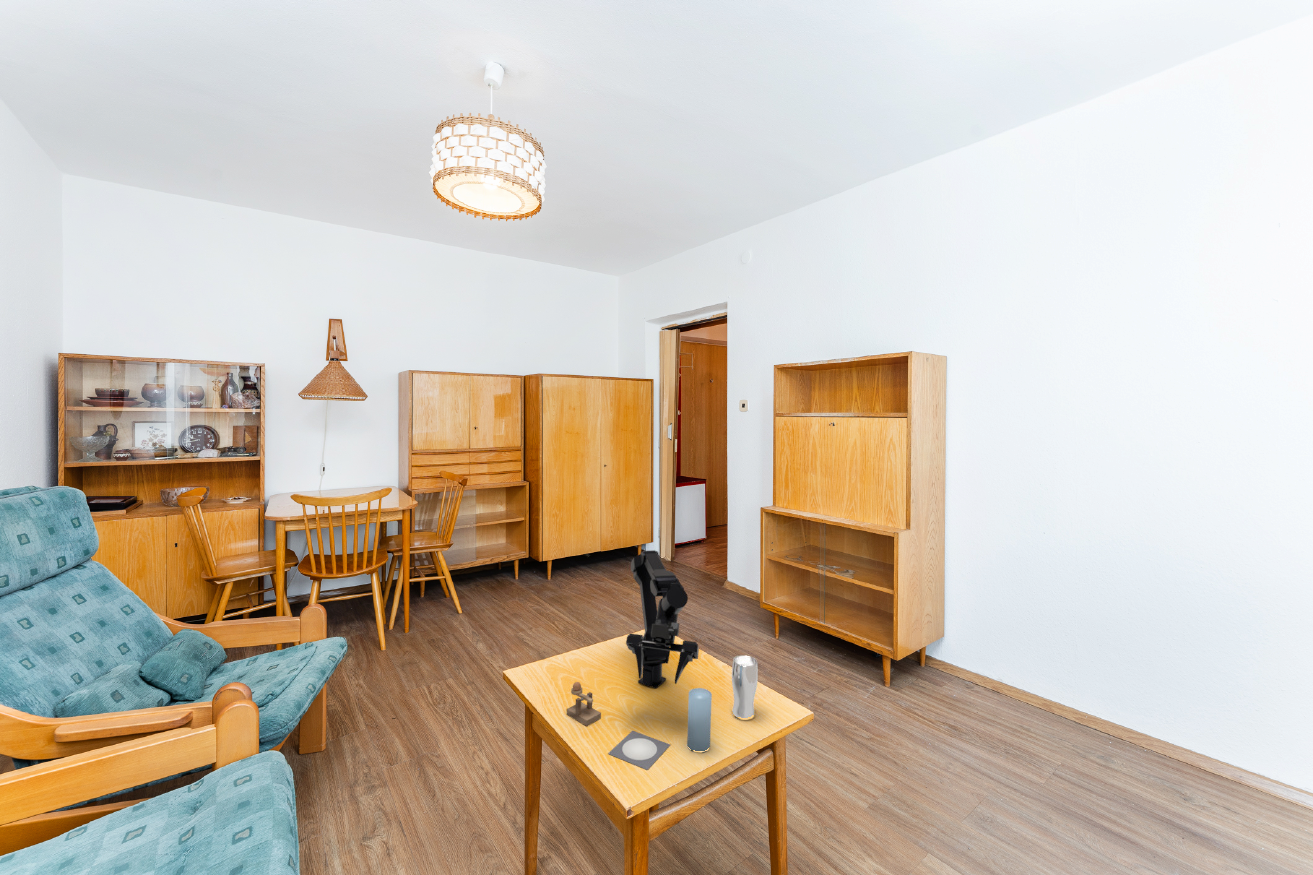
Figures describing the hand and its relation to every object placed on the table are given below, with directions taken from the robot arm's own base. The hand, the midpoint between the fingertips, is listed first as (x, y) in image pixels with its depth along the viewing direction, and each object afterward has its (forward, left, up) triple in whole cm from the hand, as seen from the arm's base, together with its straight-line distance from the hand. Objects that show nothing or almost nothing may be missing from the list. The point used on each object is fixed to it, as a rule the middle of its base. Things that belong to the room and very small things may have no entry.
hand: (657, 680), depth 135 cm
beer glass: (-20, +16, -14) cm, 29 cm away
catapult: (+4, -20, -14) cm, 25 cm away
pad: (+8, 0, -14) cm, 16 cm away
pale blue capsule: (-1, +11, -14) cm, 18 cm away
